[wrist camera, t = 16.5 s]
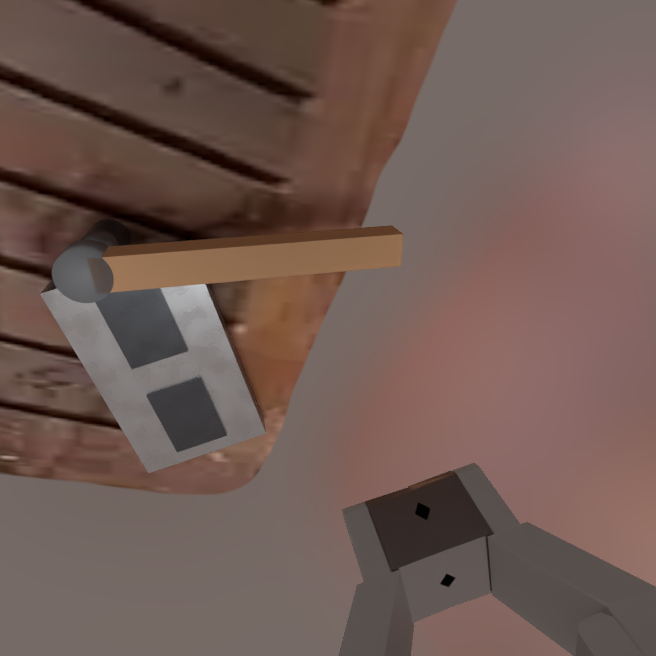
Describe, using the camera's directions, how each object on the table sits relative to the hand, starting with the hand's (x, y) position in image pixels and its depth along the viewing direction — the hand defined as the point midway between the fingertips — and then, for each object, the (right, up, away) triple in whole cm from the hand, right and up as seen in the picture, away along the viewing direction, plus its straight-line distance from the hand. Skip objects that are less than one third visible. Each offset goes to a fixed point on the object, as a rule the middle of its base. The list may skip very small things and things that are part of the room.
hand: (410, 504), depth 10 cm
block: (-17, +2, +33) cm, 37 cm away
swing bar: (-8, +9, +24) cm, 27 cm away
